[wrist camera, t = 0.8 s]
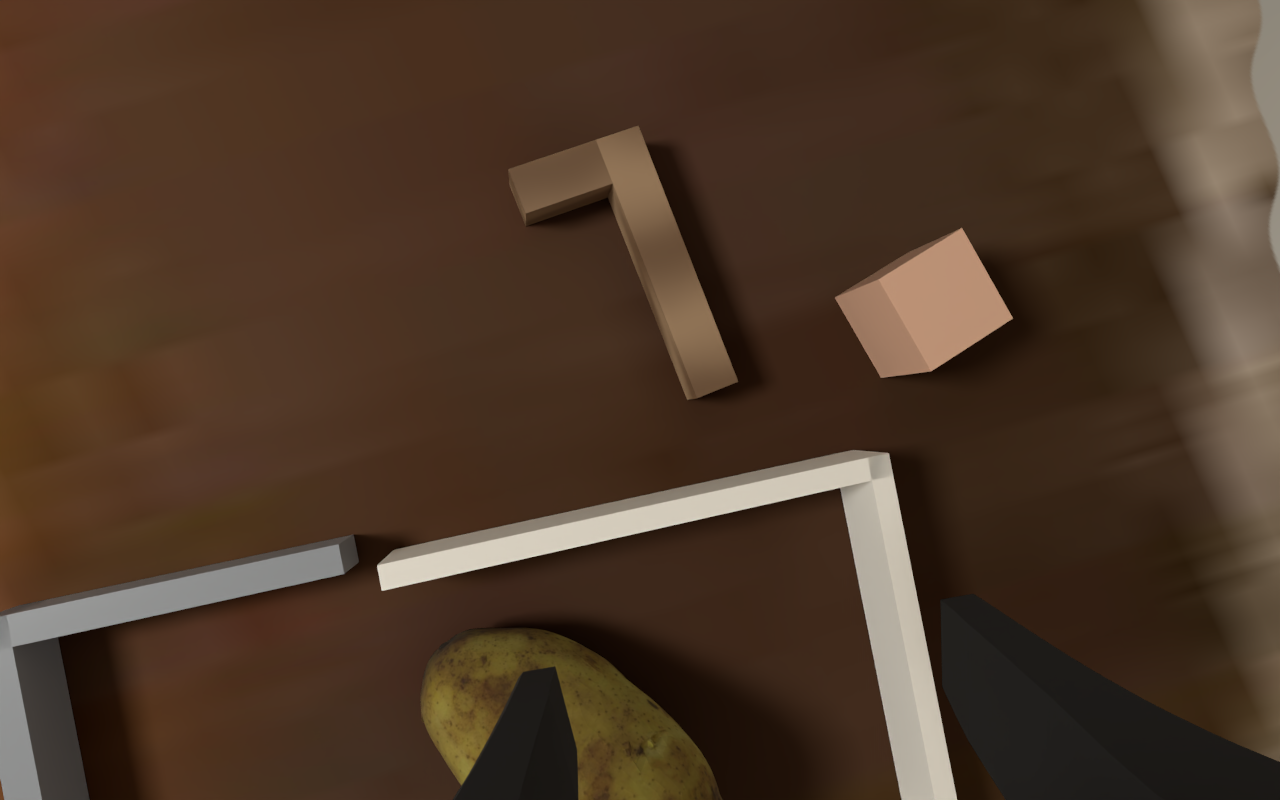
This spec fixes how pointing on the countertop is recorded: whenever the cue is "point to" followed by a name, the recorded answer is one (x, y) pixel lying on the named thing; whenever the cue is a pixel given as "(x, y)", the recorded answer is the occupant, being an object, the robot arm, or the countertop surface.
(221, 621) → the countertop surface
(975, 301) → the terracotta block
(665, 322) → the crook tool
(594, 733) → the potato
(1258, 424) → the countertop surface
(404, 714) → the countertop surface
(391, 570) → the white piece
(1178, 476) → the countertop surface
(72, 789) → the frame
